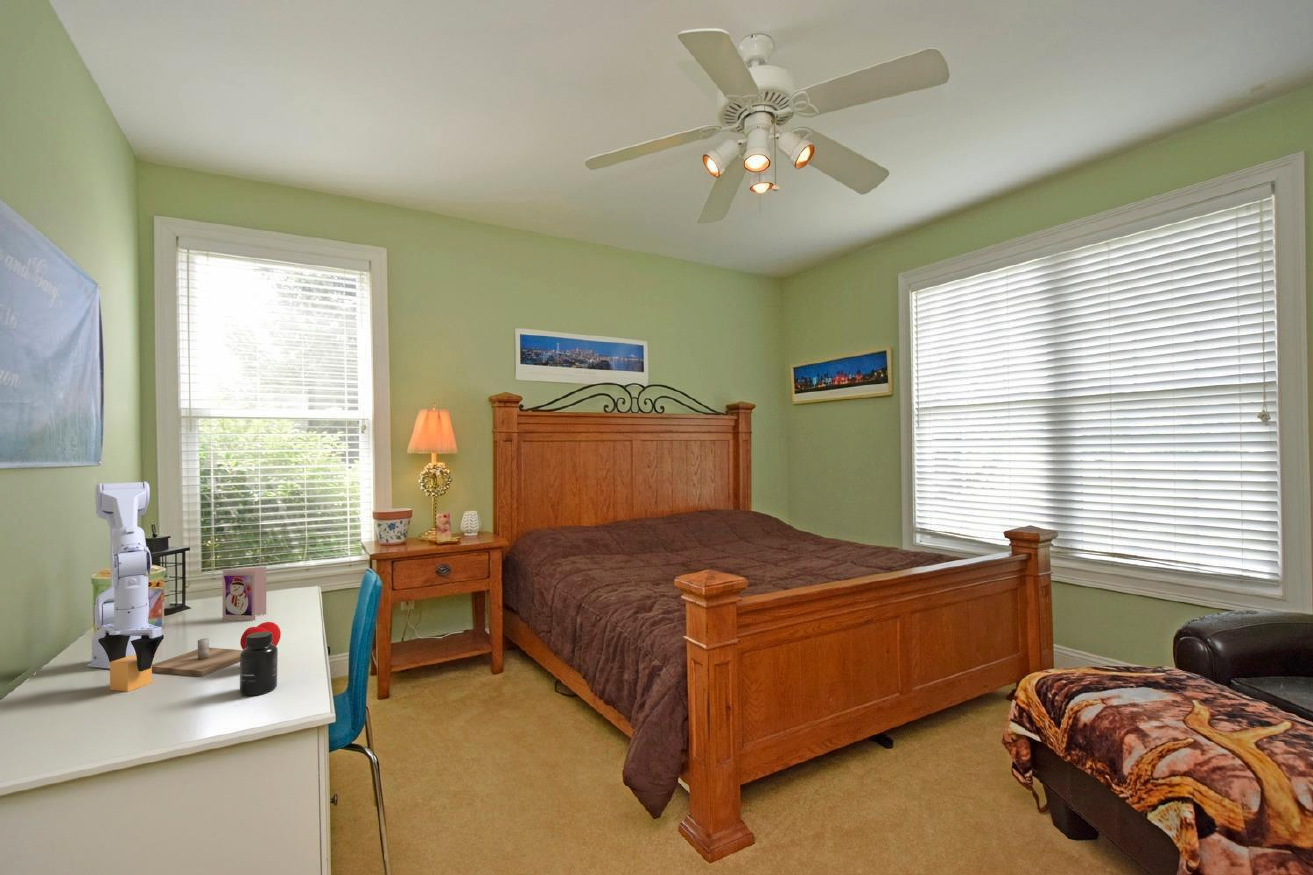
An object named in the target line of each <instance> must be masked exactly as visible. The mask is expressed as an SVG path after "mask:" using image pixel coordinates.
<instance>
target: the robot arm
mask: <svg viewBox="0 0 1313 875" xmlns="http://www.w3.org/2000/svg"><path fill="white" fill-rule="evenodd" d="M150 490H151V489H150V484H149V482H147V481H138V482H137V481H135V482H132V481H131V482H113V483H112V482H111V483H110V482H107V483H103V482H99V483H98V484H96V485H95V491H94V492H95V494H94V495H95V496H94V497H95V498H94V499H95V503H94V504H95V513H96V514H97V515H96V517H97V518H99V519H103V520H106V522H107V524H108V526H109V548H110V549H109V558H110V559H109V562H110V565H109V566H110V568H109V570H110V572H109V573H110V577H109V578H110V586H109V587H107V588H106V589H105V590H104V591H102V592H101V593H99V594H98V595H97V597H96V598H95V605H94V626H95V627H96V628H97V630H96V631H95V632H94V634H93V635H92V639H91V663H88V664H87V667H90V668H98V669H99V668H100V669H109V670H110V662H112V661H115V660H118V659H121V658H124V657H128V656H131V655H134V654H136V657H137V667H138V670H139V671H144V670H147V669H150V668H151V665H152V664H153V661H154V659H155V656H156V652H157V650H158V648H159V646H160V645H161V643H162V641H163V640H164V639H165V636H164V634H162V626H157V625H154V624H151V623H149V616H150V601H149V576H151V571H152V566H153V565H152V555H151V551H150V549H149V546H147V541H146V534H145V531H144V529H143V528H142V527H140V526H138V517H141V516H143V515H145V514H146V511H147V510H148V507H149V506H148V505H149V504H150V498H151V496H150V495H151V494H150ZM112 599H113V600H112ZM108 600H109V601H108Z"/></svg>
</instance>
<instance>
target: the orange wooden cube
mask: <svg viewBox="0 0 1313 875" xmlns="http://www.w3.org/2000/svg"><path fill="white" fill-rule="evenodd" d="M152 678H153V672H152V665H151V668H150V669H147V670H144V671H139V670H138V667H137V657H136V654H134V655H131V656H128V657H124V658H121V659H118V660H115V661H112V662H110V669H109V690H110V691H118V692H126V693H127V692H130V691H133V690H136V689H139V688H142V687H145V686H147V685H150V684H152V683H153V679H152Z"/></svg>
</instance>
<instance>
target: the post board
mask: <svg viewBox="0 0 1313 875" xmlns="http://www.w3.org/2000/svg"><path fill="white" fill-rule="evenodd" d="M242 651H243V649H235V648H234V649H232V648H220V647H210V639H209V638H208V637H207V638H200V639H198V640H197V649H195V650H191V651H188V652H185V653H182V654H180V655H177V656H174V657H171V658H168V659H165V660H162V661H159V662H156V663H152V673H153V672H154V673H163V674H172V675H183V676H192V675H193V676H195V677H204V676H208V675H209V674H212V673H215V672H218V671H220V670H222V669H226V668H228V667H230V666H232V665H236V664H238V663H239V664H240V654H241V652H242ZM193 676H192V677H193Z"/></svg>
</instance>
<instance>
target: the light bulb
mask: <svg viewBox="0 0 1313 875" xmlns="http://www.w3.org/2000/svg"><path fill="white" fill-rule="evenodd" d="M257 632H272V634H273V638H272V639H273V642H272V643H271V644H274V645H275V646H276V647H277V646H278V644H279V643H280V640H281V634H282V633H281V628H280V627H279V625H278V624H276V623H275V622H273V621H265V622H261V623H260V624H258V625H257V626H250V627H248V628H246V629H245V630H244V632H243V633H242V636H241V638H240V647H241V650H244V649H245V648H246V647H247V646H246V636H248V635H249V634H252V633H257Z"/></svg>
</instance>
